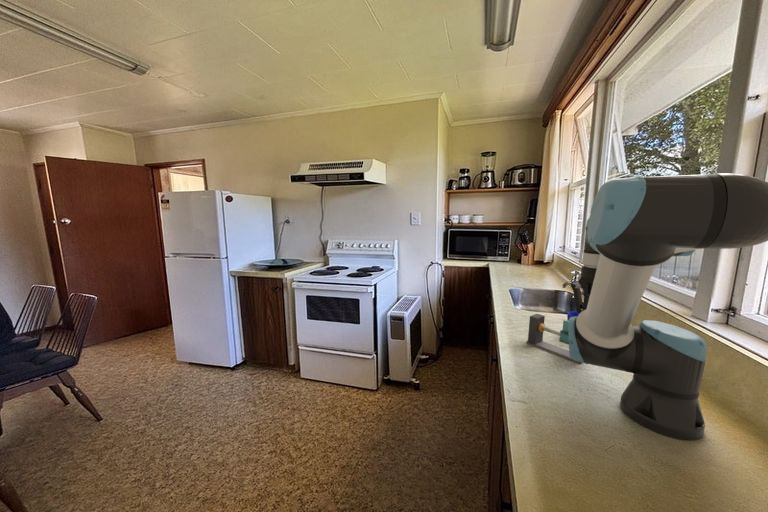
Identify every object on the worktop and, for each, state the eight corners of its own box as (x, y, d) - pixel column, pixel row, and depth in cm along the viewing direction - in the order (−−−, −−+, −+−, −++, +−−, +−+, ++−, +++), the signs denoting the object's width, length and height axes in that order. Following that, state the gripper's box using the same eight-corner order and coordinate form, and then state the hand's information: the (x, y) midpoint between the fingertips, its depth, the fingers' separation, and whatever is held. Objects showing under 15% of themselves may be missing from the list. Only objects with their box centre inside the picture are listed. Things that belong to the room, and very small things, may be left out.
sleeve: (577, 342, 103) (579, 322, 101) (571, 345, 100) (573, 324, 99) (564, 338, 106) (566, 318, 105) (559, 341, 104) (561, 321, 102)
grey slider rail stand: (587, 359, 101) (590, 329, 99) (580, 364, 98) (584, 332, 96) (533, 339, 116) (535, 313, 115) (526, 342, 114) (528, 315, 112)
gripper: (625, 268, 91) (615, 339, 95) (579, 261, 102) (572, 326, 105) (615, 271, 87) (605, 345, 91) (568, 264, 97) (561, 331, 101)
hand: (587, 335), depth 98 cm, fingers closed
